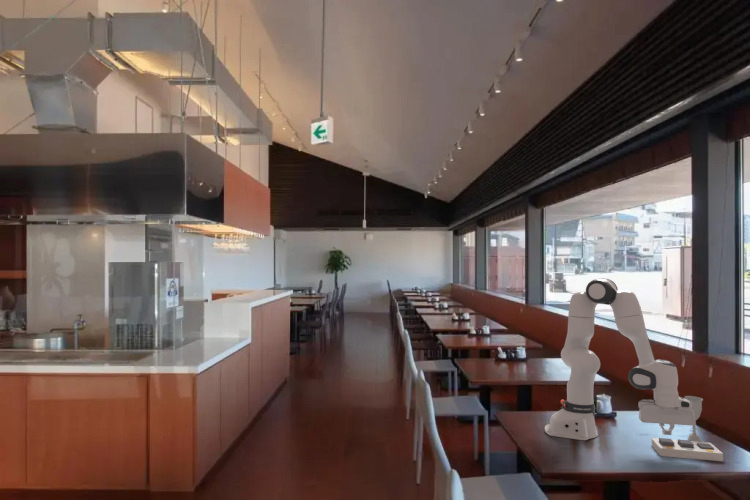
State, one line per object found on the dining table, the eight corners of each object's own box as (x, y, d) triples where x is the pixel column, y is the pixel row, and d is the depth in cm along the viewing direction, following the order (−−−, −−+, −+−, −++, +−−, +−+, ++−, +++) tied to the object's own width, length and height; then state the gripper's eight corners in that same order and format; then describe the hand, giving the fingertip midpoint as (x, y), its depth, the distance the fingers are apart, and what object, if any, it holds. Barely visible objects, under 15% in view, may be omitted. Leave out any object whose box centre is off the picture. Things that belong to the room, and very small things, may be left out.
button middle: (681, 449, 200) (681, 443, 200) (677, 445, 205) (677, 439, 205) (693, 450, 199) (693, 444, 199) (689, 446, 203) (689, 440, 203)
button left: (662, 447, 202) (662, 441, 202) (659, 444, 206) (658, 437, 206) (674, 448, 201) (674, 442, 201) (670, 444, 205) (670, 438, 205)
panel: (660, 455, 199) (660, 447, 199) (651, 445, 210) (651, 437, 210) (723, 461, 193) (723, 452, 193) (710, 450, 205) (710, 442, 205)
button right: (701, 453, 198) (701, 446, 199) (697, 449, 203) (697, 443, 203) (713, 454, 197) (713, 447, 197) (709, 450, 202) (709, 444, 202)
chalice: (706, 443, 213) (706, 400, 213) (689, 442, 214) (688, 399, 215) (699, 437, 220) (698, 396, 220) (682, 436, 221) (681, 395, 222)
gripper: (640, 401, 204) (641, 435, 203) (696, 404, 199) (697, 438, 198) (636, 396, 210) (637, 430, 209) (690, 399, 205) (691, 433, 204)
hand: (667, 434), depth 204 cm, fingers closed
